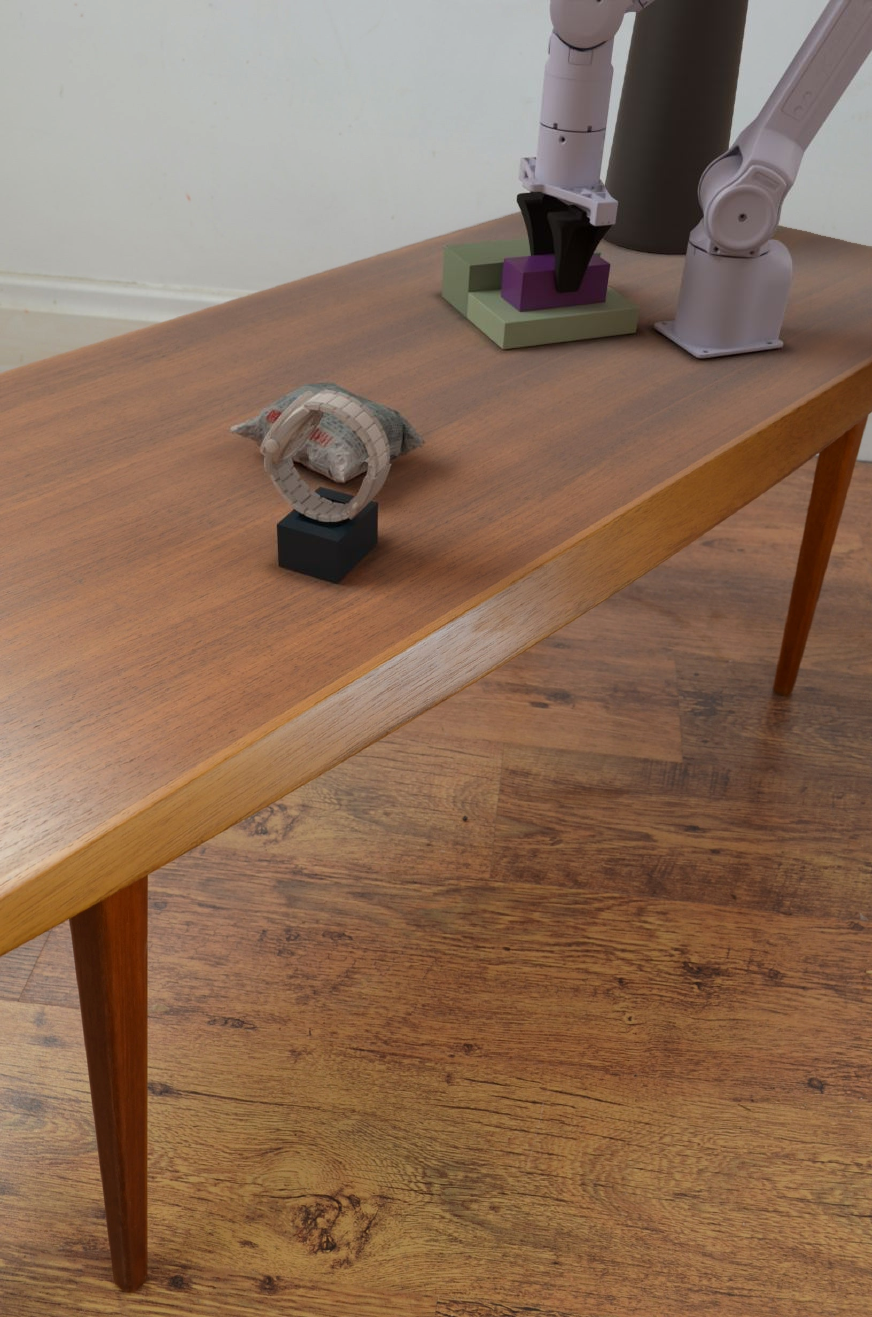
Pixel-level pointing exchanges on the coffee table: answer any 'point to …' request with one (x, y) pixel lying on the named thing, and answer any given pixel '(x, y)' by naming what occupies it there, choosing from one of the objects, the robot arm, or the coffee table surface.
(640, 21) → the vase
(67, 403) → the coffee table surface
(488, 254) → the step shelf
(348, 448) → the packaged food
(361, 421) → the watch
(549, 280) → the purple rectangular block
